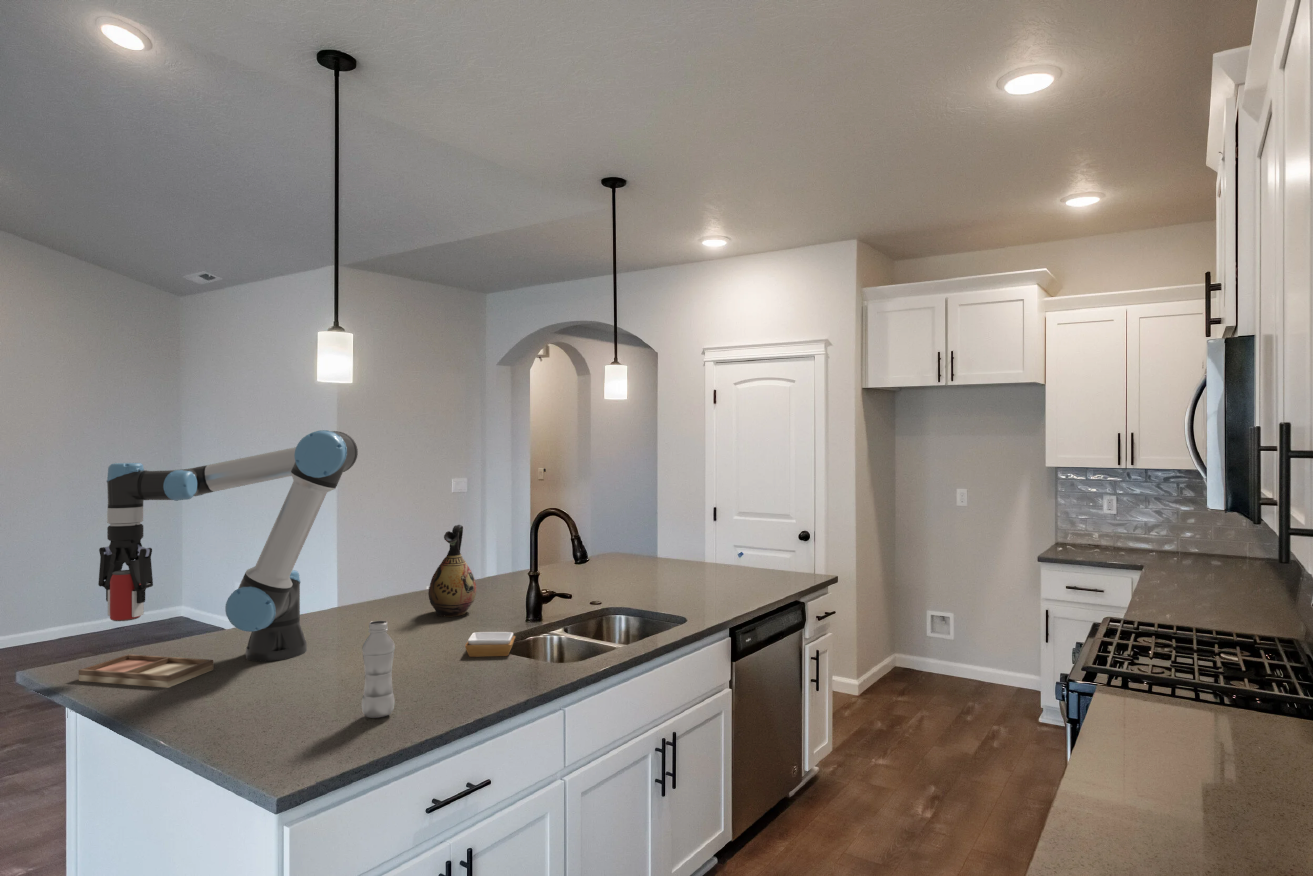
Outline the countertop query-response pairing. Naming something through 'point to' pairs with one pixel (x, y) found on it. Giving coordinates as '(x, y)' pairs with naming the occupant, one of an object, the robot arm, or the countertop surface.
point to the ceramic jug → (452, 580)
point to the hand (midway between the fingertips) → (125, 615)
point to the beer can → (121, 596)
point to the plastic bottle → (378, 671)
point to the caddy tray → (146, 670)
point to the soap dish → (490, 644)
